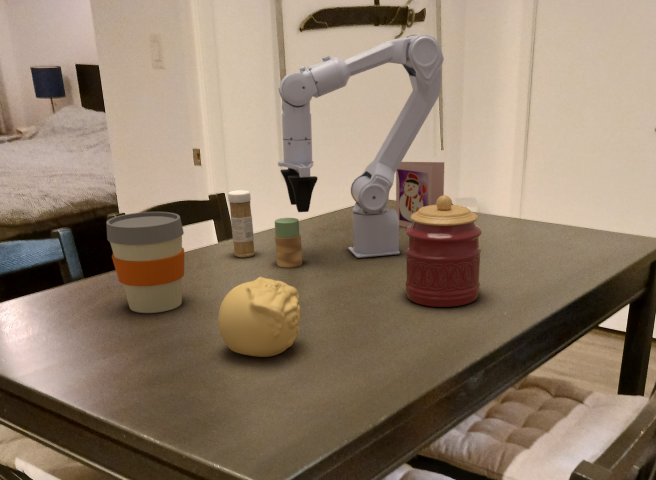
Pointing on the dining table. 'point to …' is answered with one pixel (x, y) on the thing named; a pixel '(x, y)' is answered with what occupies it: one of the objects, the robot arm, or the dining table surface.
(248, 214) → the sprinkles bottle
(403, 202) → the greeting card
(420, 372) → the dining table surface
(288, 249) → the pile middle chip
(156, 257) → the reusable coffee cup
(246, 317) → the sculpture
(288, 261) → the pile bottom chip
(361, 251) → the robot arm
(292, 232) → the green short cylinder
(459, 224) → the kitchen canister
